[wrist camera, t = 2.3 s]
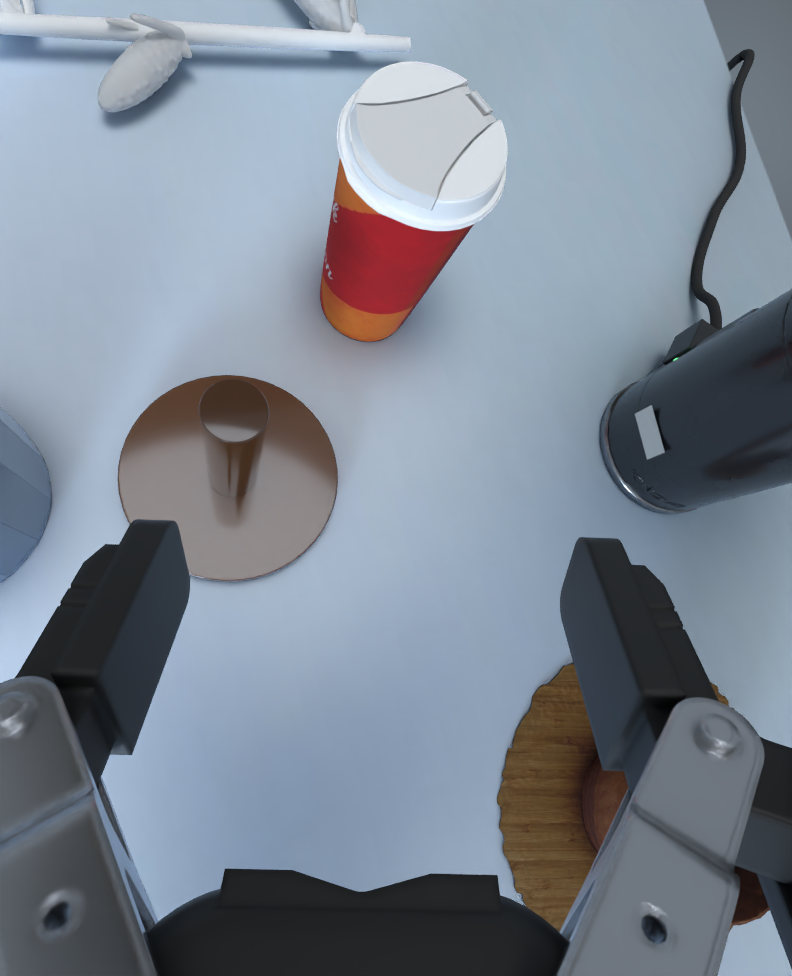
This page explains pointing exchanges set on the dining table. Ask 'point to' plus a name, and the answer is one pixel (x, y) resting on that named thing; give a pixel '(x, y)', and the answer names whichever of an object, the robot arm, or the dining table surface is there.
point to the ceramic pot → (569, 805)
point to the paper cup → (405, 192)
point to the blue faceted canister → (20, 495)
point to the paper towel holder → (231, 475)
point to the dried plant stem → (190, 41)
